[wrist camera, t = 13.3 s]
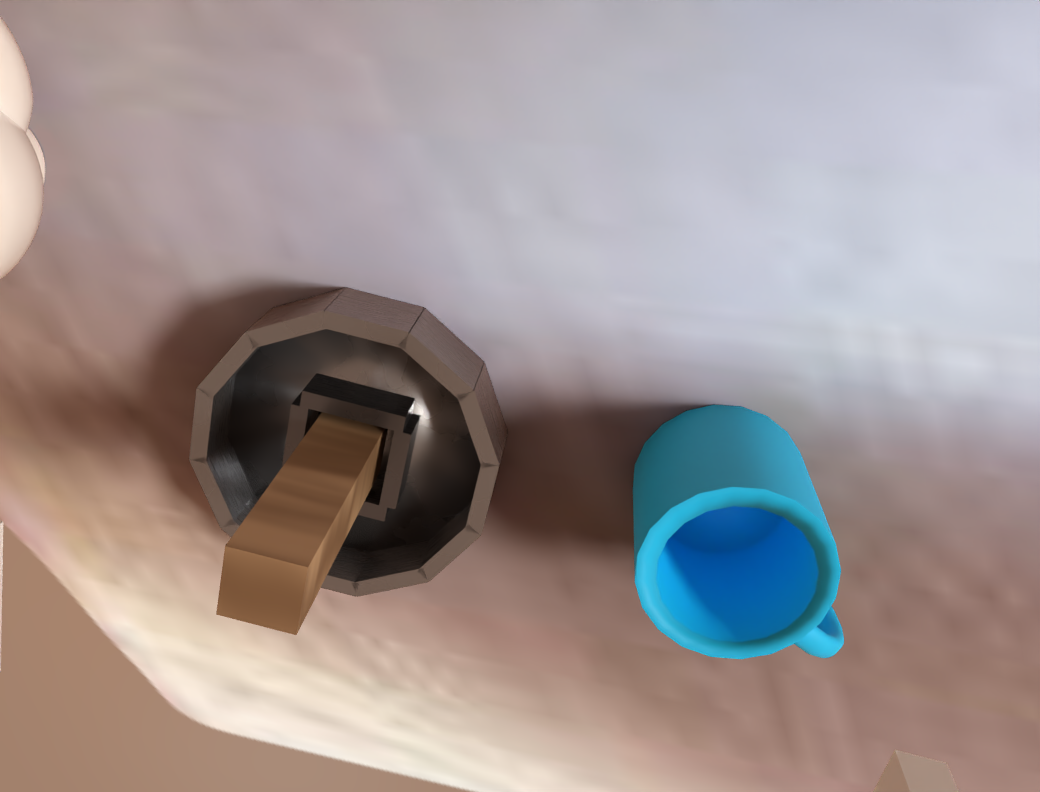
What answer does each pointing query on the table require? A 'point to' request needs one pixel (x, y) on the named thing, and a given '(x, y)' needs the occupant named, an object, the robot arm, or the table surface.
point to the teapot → (17, 157)
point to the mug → (733, 538)
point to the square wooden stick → (300, 524)
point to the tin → (365, 398)
